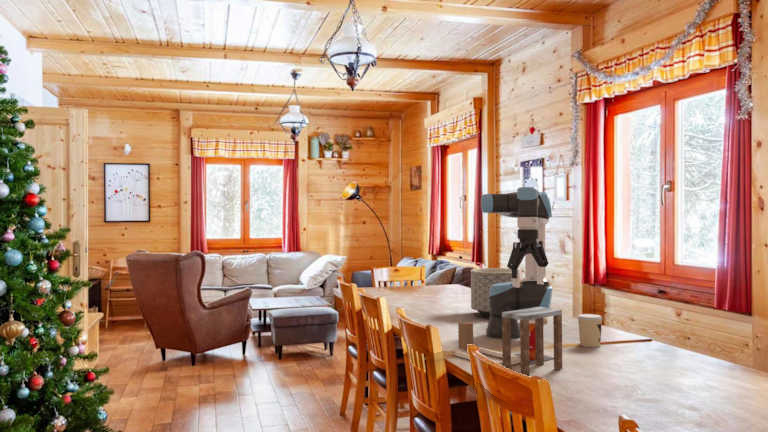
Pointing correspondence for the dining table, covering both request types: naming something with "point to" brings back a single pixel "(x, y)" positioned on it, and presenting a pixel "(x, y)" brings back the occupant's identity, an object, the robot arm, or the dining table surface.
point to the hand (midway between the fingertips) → (528, 285)
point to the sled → (467, 338)
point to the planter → (486, 286)
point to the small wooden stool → (524, 318)
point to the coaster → (535, 360)
